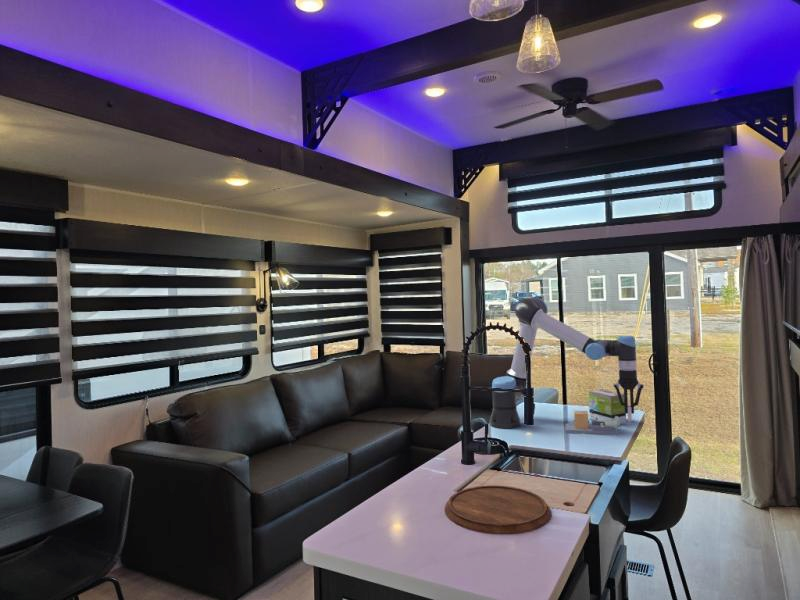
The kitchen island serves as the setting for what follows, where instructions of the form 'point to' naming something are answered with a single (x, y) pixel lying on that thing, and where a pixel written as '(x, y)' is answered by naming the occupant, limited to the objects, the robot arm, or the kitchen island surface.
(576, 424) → the jaw block
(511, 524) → the cutting board
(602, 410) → the tea box
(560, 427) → the kitchen island surface
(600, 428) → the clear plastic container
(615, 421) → the cover
